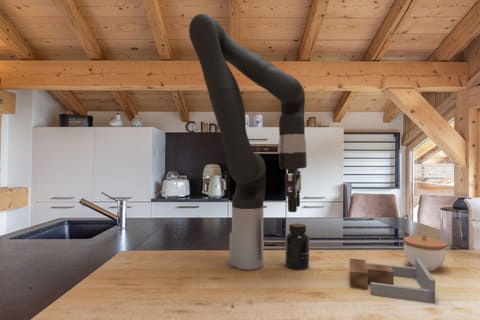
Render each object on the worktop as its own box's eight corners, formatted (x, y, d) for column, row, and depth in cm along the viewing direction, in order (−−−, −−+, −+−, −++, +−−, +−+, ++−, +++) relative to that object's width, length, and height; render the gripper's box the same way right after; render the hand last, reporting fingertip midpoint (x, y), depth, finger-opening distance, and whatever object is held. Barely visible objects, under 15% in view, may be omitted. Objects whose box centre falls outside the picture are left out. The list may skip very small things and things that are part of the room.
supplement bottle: (309, 271, 86) (309, 228, 86) (284, 269, 88) (284, 227, 87) (308, 262, 93) (309, 222, 93) (286, 260, 94) (286, 221, 94)
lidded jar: (405, 271, 87) (405, 237, 86) (401, 259, 96) (401, 229, 96) (450, 276, 83) (451, 241, 82) (441, 263, 92) (441, 232, 92)
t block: (350, 287, 76) (350, 271, 76) (349, 272, 85) (349, 258, 85) (395, 293, 73) (395, 276, 72) (389, 277, 82) (389, 262, 82)
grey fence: (370, 294, 72) (371, 273, 72) (366, 271, 86) (366, 253, 86) (434, 303, 68) (435, 280, 68) (419, 277, 82) (419, 258, 82)
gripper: (282, 152, 94) (284, 205, 94) (274, 151, 80) (276, 213, 81) (308, 151, 92) (309, 205, 92) (303, 150, 78) (305, 214, 78)
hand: (294, 209), depth 86 cm, fingers open, 8 cm apart
